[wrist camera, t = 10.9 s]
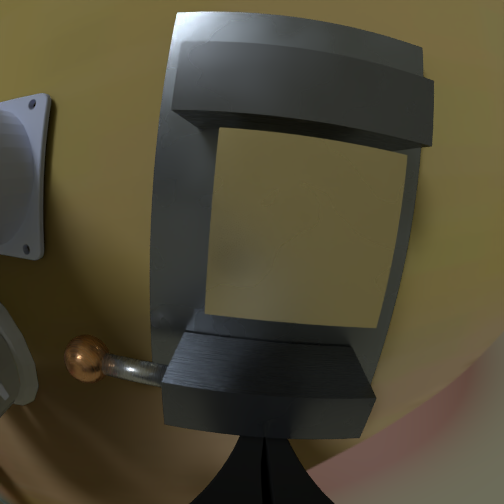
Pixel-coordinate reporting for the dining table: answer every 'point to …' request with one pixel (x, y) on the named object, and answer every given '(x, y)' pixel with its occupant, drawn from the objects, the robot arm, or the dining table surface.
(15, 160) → the robot arm
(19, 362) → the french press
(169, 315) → the vise
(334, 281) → the brass block
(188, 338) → the sliding jaw
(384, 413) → the dining table surface
